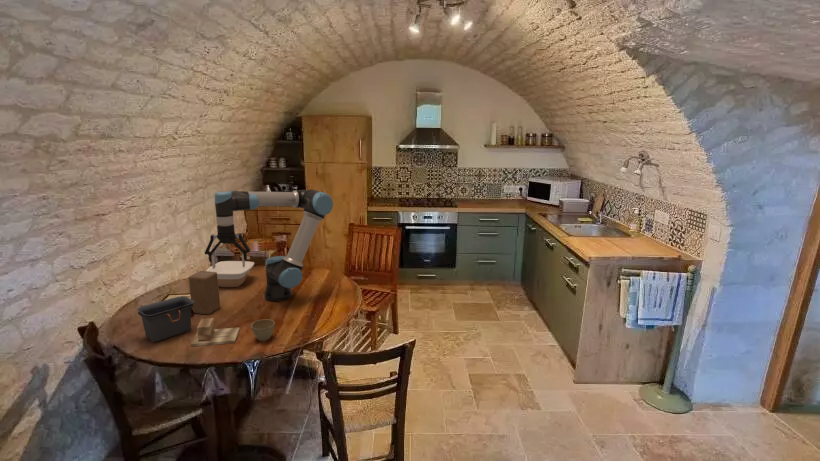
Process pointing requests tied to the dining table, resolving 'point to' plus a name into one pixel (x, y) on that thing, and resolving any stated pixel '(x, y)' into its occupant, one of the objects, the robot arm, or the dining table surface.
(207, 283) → the wooden block
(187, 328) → the storage bin
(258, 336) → the flower pot
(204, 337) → the block
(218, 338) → the board
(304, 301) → the dining table surface
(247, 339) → the dining table surface
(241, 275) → the bowl
